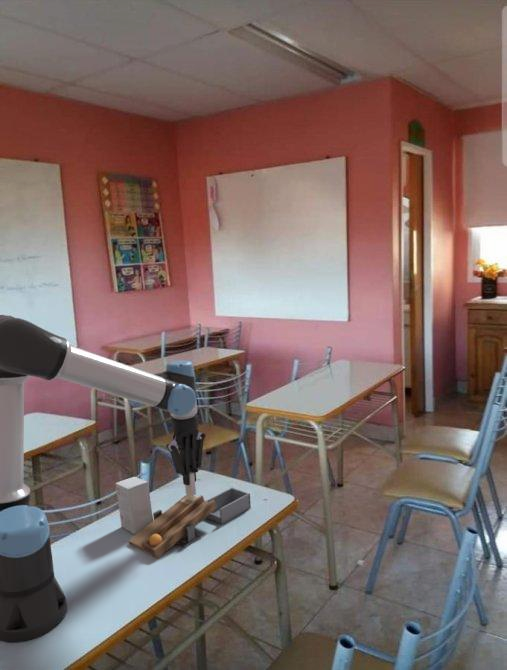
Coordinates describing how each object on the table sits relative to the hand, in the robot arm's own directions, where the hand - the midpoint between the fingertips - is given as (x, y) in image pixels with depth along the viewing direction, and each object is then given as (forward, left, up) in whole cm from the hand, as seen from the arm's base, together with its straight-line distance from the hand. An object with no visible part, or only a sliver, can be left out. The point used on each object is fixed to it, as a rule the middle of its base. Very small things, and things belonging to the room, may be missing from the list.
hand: (190, 493), depth 159 cm
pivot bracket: (-10, -3, -7) cm, 12 cm away
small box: (-14, +8, -7) cm, 17 cm away
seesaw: (-10, -3, -4) cm, 11 cm away
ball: (-18, -6, -4) cm, 20 cm away
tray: (+8, -6, -7) cm, 13 cm away
